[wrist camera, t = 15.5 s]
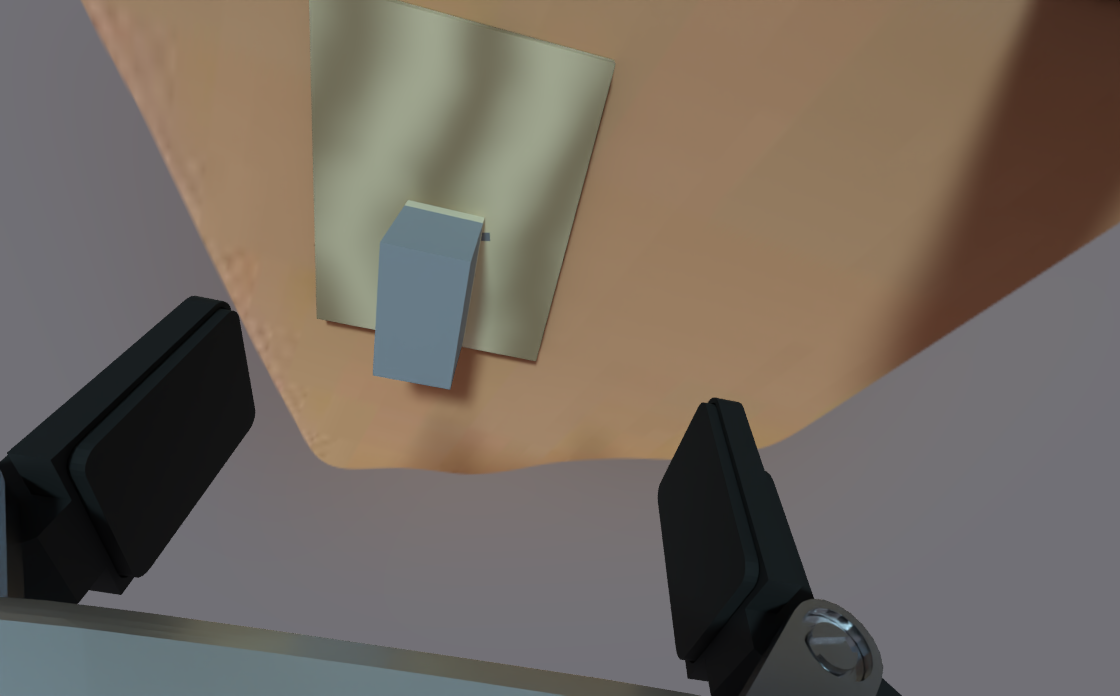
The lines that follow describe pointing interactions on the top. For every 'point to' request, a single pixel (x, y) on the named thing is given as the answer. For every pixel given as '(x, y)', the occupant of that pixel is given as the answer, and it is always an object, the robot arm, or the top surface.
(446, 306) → the block
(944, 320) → the top surface
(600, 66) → the board
